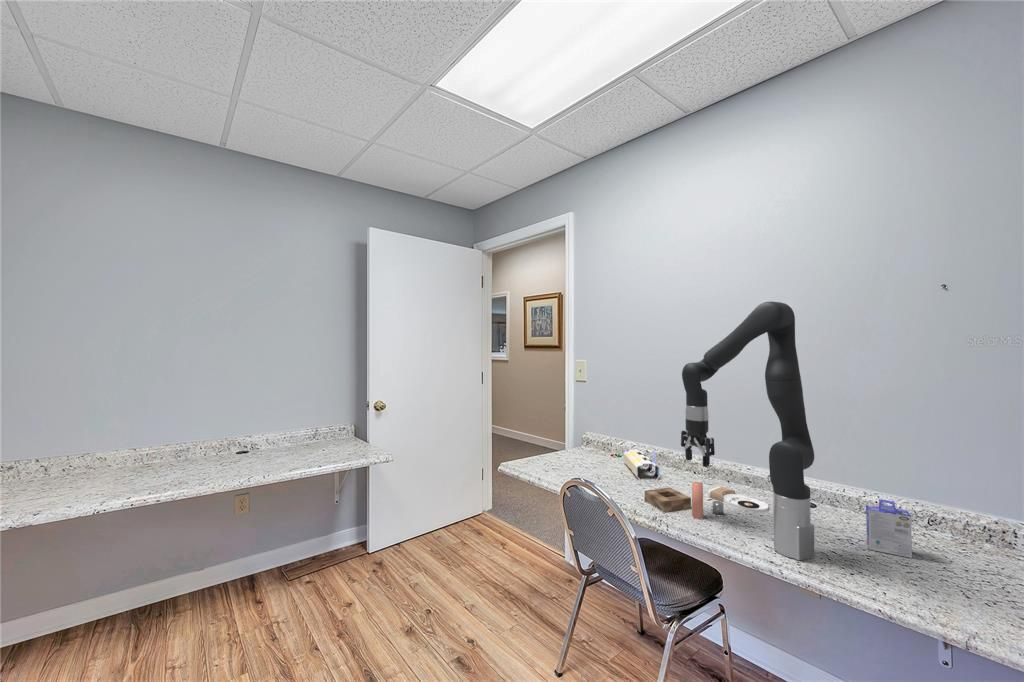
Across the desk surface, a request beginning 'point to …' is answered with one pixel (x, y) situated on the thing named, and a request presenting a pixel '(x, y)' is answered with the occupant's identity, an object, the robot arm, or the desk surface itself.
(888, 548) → the ink cartridge box
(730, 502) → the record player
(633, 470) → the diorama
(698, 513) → the long pin
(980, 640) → the desk surface
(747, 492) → the desk surface
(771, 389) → the robot arm
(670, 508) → the hole block
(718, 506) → the short pin
